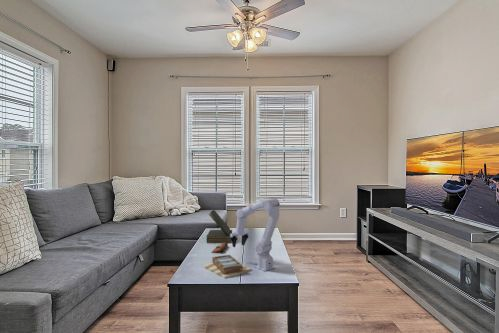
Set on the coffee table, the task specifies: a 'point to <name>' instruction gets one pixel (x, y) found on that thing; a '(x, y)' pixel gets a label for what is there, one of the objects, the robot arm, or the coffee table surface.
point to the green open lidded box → (222, 234)
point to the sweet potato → (220, 248)
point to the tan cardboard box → (227, 264)
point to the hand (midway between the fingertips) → (238, 245)
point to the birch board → (218, 272)
